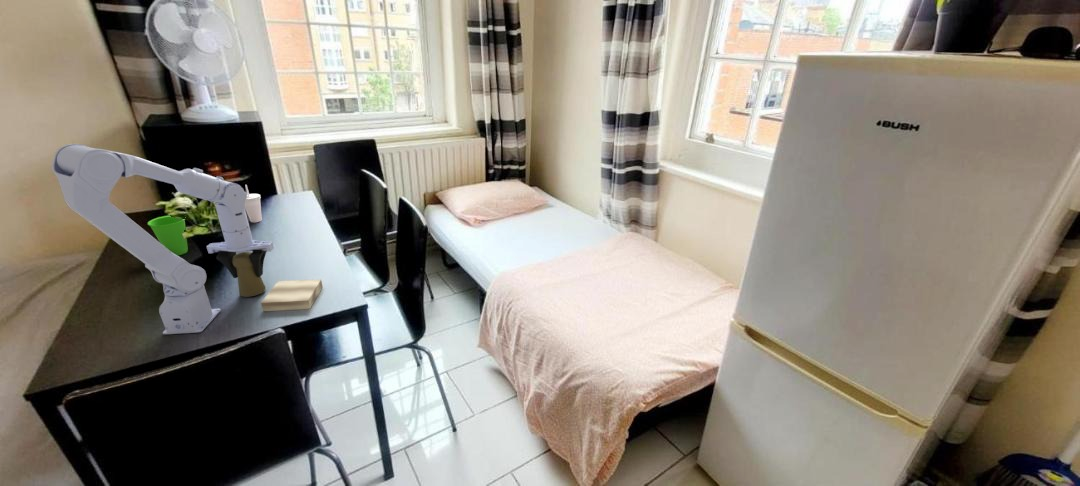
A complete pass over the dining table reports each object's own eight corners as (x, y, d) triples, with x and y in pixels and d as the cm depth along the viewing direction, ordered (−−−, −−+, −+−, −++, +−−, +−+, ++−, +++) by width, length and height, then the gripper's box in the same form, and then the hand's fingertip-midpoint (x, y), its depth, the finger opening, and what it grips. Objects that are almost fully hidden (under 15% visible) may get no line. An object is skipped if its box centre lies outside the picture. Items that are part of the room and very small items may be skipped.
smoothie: (241, 222, 159) (232, 186, 153) (257, 216, 165) (248, 181, 159) (255, 224, 158) (246, 188, 152) (270, 219, 163) (261, 183, 157)
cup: (158, 251, 135) (147, 218, 131) (194, 244, 141) (184, 213, 136) (159, 261, 129) (147, 228, 125) (196, 254, 135) (186, 221, 130)
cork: (253, 298, 112) (242, 260, 107) (233, 294, 113) (222, 257, 108) (271, 286, 117) (262, 250, 113) (252, 283, 118) (242, 247, 114)
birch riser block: (310, 308, 110) (308, 300, 109) (263, 311, 108) (260, 302, 107) (322, 287, 119) (321, 279, 118) (279, 289, 118) (277, 281, 117)
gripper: (273, 221, 112) (283, 267, 118) (212, 222, 110) (225, 269, 115) (262, 232, 106) (273, 280, 112) (196, 233, 104) (211, 282, 109)
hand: (248, 275), depth 113 cm, fingers closed on cork, 5 cm apart
